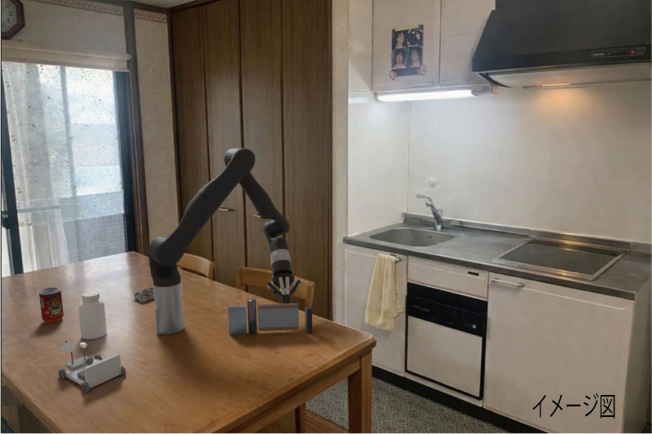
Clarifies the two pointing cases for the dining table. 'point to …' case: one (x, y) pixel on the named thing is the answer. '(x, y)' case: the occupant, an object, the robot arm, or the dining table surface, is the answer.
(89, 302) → the pill bottle
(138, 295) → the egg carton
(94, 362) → the toy space rover
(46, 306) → the soda can
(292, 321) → the gate
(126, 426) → the dining table surface
